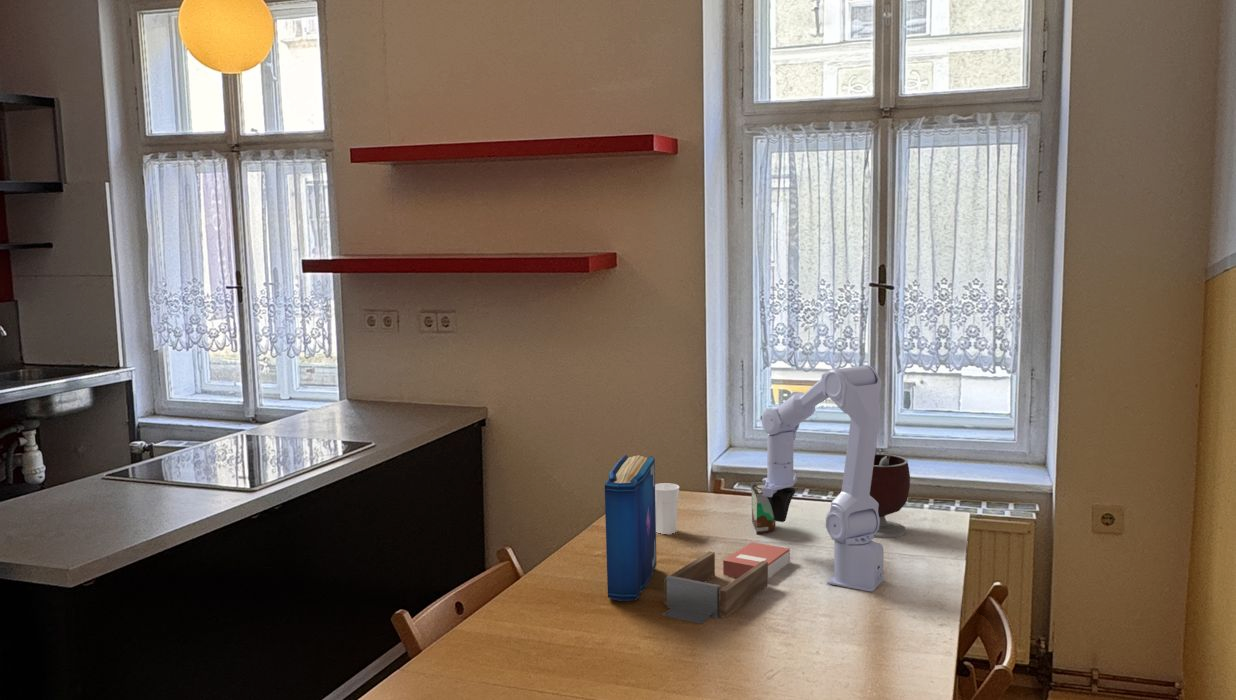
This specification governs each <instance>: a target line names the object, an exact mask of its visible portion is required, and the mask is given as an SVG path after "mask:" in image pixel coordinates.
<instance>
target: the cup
mask: <svg viewBox="0 0 1236 700" xmlns="http://www.w3.org/2000/svg"><path fill="white" fill-rule="evenodd" d="M679 499H680V485H678V484H676V483H670V482H669V483H668V482H663V483H655V507H656V532H657V533H656V534H658V533H661V534H660V535H662V534H667V535H673V534H672V533H674V534H676V533H677V528H678V525H677V524H678V522H677V521H678V503H679ZM675 532H676V533H675Z"/></svg>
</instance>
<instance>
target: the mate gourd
mask: <svg viewBox="0 0 1236 700" xmlns="http://www.w3.org/2000/svg"><path fill="white" fill-rule="evenodd" d="M910 487H911V473H910V467H909V460H908V458H906V457H903V456H900V455H895V454H888V453H887V454H886V453H875V458H874V465H873V472H872V480H871V487H870V496H871V497H873V498H874V499H875V500H876V501H877V502H878V504H879V506H878V514H879V519H880V525H879V529H878V531H877V532H876V533H874V538H879V539H888V538H889V539H890V538H896V537H901V536H903V535H905V534H906V527H905V526H904V525H902V524H901V523H898V522H896V521H890V520H887V519H886V516H888V515H891V514H894V513H897V512H899V511H901V510H902V508H903V507H904V506H905V505H906V503H907V501H908V498H909V492H910Z"/></svg>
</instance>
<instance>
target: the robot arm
mask: <svg viewBox="0 0 1236 700" xmlns="http://www.w3.org/2000/svg"><path fill="white" fill-rule="evenodd" d="M882 382H883V381H882V379H881V377H880V375H879V374H878V372H877V371H876V370H875V368H874V367H872V366H871V365H868V364H867V365H866V364H864V365H861V366H852V367H842V368H830V369H829V370H827V371H826V372H824V373H822V374H821V378H820V379H819V380H818V381H817V382H815V384H813V385H812V386H811V387H810V388H809V389H808V390H806V391H793V392H791V393H790V394H789V397H788V398H787V399H786V400H785V401H781V402H779V403H778V406H777V407H776V408H766V409H765V410H764V412H763V413H762V415H761V416H762V417H761V425H762V429H763V431H764V432H765V433H766V434H767V435H766V436H767V437H766V438H767V441H766V442H767V445H766V446H767V447H766V448H767V450H766V451H767V454H766V455H767V459H766V460H767V463H766V465H767V468H766V471H767V474H766V475H767V477H763V478H762V483H766V484H765V486H764V487H763V496H766V497H767V498H768V500H769V502H770V504H771V508H772V511H773V516H774V519H775V521H776V522H780V523H784V522H785V521H786V520H787V516H788V511H789V508H790V504H791V502H792V499H793V497H794V495H795V494H796V489H795V488H793V486H794V485H795V484H797V483H798V473H794V441H795V440H796V439H797V436H796V435H797V432H798V430H799V428H800V424H801V423H803V422H805V420H807V419H808V418H809V417H811V416H812V415H813V414H814V413H815V410H816V406H818V405H819V404H821V403H824V401H826V400H827V399H830V400H831V401H832V402H833V403H834V404H835V405H836V406H837V407H838V408H839V410H840V411H842V413H843V414H847V415H848V416H849V418H850V421H849V422H850V423H849V430H848V436H847V437H848V438H847V447H846V454H845V462H844V470H843V477H842V486H841V492H840V493H838V494H837V496H836V497H835V498H834V499H833V500H832V501H831V503H830V504H831V505H830V509H829V511H828V512H827V514H826V515H825V516H826V517H825V529H826V531H827V533H828V535H829V537H830V538H831V540H832V541H833V542H834V544H833V547H834V548H833V551H834V552H833V576H831V577H830V578H829V579H828V580H826V584H829V585H833V586H838V587H843V588H844V587H845V588H849V589H850V588H851V589H855V590H861V591H865V592H873V591H874V590H876V588H878V587H879V586H880V585H881V584H882V582H884V581H885V577H884V555H885V554H884V548H883V545H882V544H881V543H878V542H876V541H873V540H874V538H875V537H874V533H876V532H877V531H878V529H879V525H880V519H879V514H878V506H879V504H878V502H877V501H876V500H875V499H874V498H873V497H871V496H870V487H871V480H872V472H873V465H874V458H875V454H876V449H877V441H878V435H879V428H880V419H881V408H880V407H881V405H880V398H881V390H882V384H883V383H882Z"/></svg>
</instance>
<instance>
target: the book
mask: <svg viewBox="0 0 1236 700" xmlns="http://www.w3.org/2000/svg"><path fill="white" fill-rule="evenodd" d="M655 468H656V464H655V457H654V456H652V455H650V456H649V457H647V456H646V457H645V456H643V455H640V454H639V455H634V456H628V455H627V454H625V455H623V456H622V457H621V458H620V459H619V460H618V461H617V462H616V464H614V466H613V468H612V469H611V470H610V472H609V474H608V480H606V481H605V482H604V509H605V510H604V513H605V539H606V540H605V541H606V542H605V543H606V544H605V547H606V574H607V575H606V577H607V578H606V581H607V586H606V587H607V598H608V599H611V600H614V601H620V602H631V601H632V602H634V601H636V600H638V599H639V597H640V596H641V594H642V592H643V591H645V590H646V588H647V586H648V585H649V582H650V580H651V579H652V577H653V575H654V572H655V570H656V567H657V533H656V507H655V484H656V469H655ZM641 591H642V592H641Z"/></svg>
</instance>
